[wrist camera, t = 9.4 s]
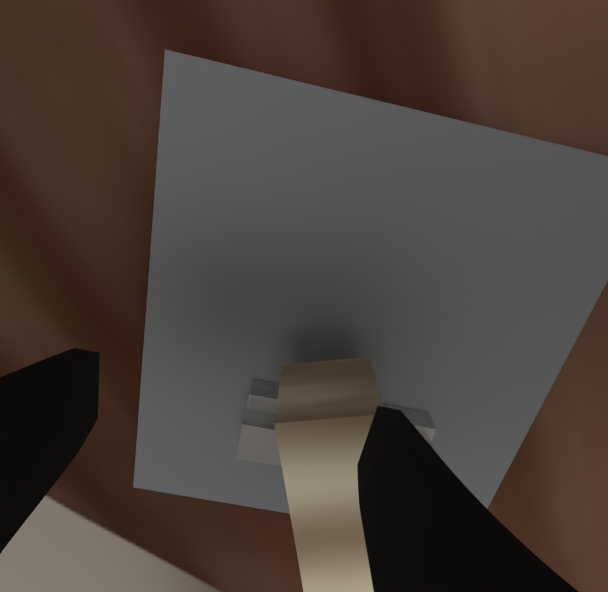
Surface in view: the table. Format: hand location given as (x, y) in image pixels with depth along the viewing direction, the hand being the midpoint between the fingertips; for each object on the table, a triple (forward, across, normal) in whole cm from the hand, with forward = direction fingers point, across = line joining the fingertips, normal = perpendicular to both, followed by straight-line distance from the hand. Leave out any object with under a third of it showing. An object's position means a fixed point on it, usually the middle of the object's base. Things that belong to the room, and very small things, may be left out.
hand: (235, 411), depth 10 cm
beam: (+7, -5, +8) cm, 12 cm away
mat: (+10, -5, +3) cm, 12 cm away
